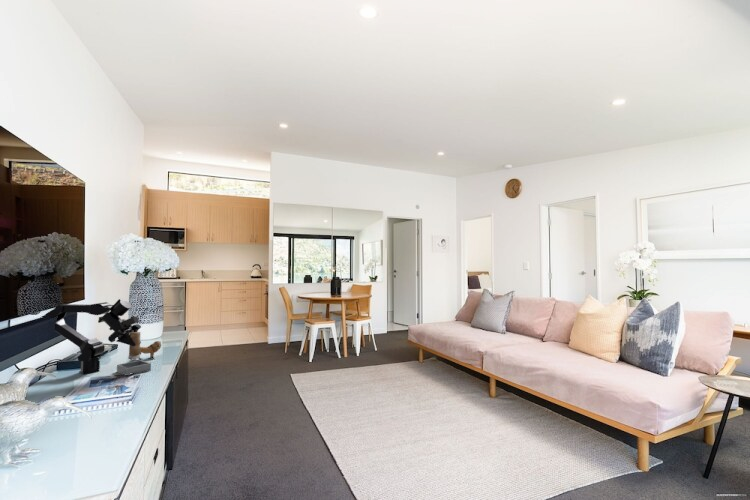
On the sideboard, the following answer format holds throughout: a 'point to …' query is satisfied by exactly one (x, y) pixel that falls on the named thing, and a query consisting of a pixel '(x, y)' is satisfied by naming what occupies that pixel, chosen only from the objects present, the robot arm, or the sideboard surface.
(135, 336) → the walnut handle
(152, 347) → the lion figurine
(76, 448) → the sideboard surface
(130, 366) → the box
